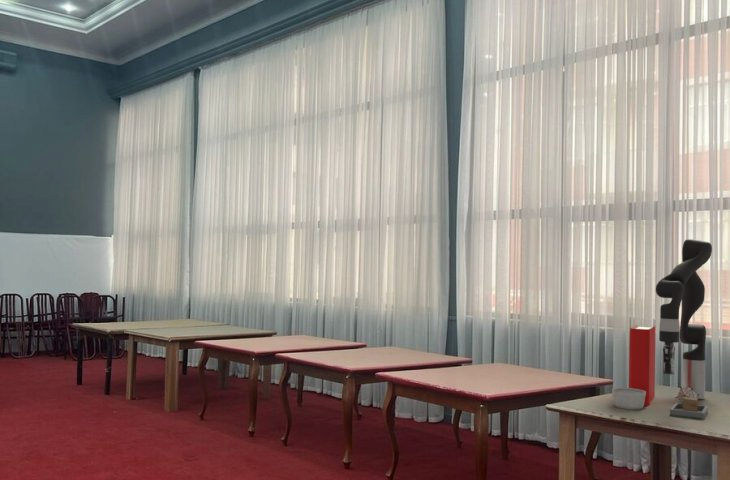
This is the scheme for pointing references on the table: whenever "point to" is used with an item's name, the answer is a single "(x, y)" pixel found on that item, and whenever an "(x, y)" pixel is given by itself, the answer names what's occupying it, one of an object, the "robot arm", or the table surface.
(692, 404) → the walnut cube
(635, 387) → the book
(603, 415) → the table surface
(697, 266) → the robot arm
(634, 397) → the ramekin
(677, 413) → the charcoal tray
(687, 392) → the game die
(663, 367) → the steel cylinder
